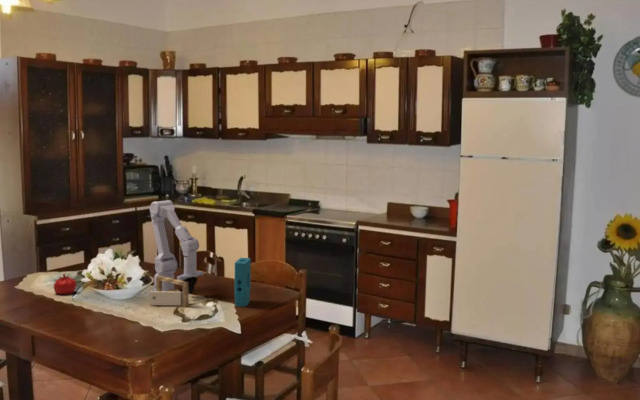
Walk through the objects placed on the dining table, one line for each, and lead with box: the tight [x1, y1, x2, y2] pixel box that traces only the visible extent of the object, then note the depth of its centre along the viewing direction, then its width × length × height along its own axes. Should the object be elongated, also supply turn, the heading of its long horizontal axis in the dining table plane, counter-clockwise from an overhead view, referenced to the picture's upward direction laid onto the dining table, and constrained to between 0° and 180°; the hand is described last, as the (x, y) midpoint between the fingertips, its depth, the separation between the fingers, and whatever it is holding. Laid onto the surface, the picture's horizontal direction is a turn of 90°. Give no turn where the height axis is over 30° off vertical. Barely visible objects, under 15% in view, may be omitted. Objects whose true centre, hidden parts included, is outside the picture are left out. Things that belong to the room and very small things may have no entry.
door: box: [149, 290, 183, 306], centre depth 269 cm, size 15×2×6 cm, turn 93°
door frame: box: [156, 276, 189, 308], centre depth 274 cm, size 19×2×11 cm, turn 55°
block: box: [234, 257, 252, 307], centre depth 275 cm, size 12×5×20 cm, turn 174°
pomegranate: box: [53, 273, 78, 295], centre depth 287 cm, size 10×10×9 cm
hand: (190, 293), depth 285 cm, fingers closed
